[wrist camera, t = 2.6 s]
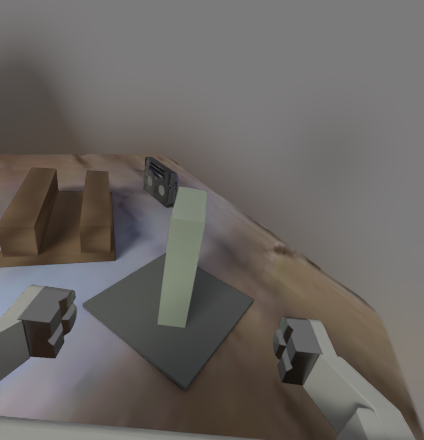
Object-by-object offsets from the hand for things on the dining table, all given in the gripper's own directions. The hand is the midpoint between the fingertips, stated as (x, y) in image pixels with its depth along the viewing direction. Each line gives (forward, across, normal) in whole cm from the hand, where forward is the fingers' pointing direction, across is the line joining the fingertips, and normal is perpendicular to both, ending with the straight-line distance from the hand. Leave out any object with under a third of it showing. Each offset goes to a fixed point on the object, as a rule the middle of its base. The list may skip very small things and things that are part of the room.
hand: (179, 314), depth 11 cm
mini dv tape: (+37, +6, +12) cm, 39 cm away
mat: (+12, 0, +12) cm, 18 cm away
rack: (+24, +16, +12) cm, 31 cm away
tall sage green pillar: (+12, 0, +12) cm, 17 cm away
